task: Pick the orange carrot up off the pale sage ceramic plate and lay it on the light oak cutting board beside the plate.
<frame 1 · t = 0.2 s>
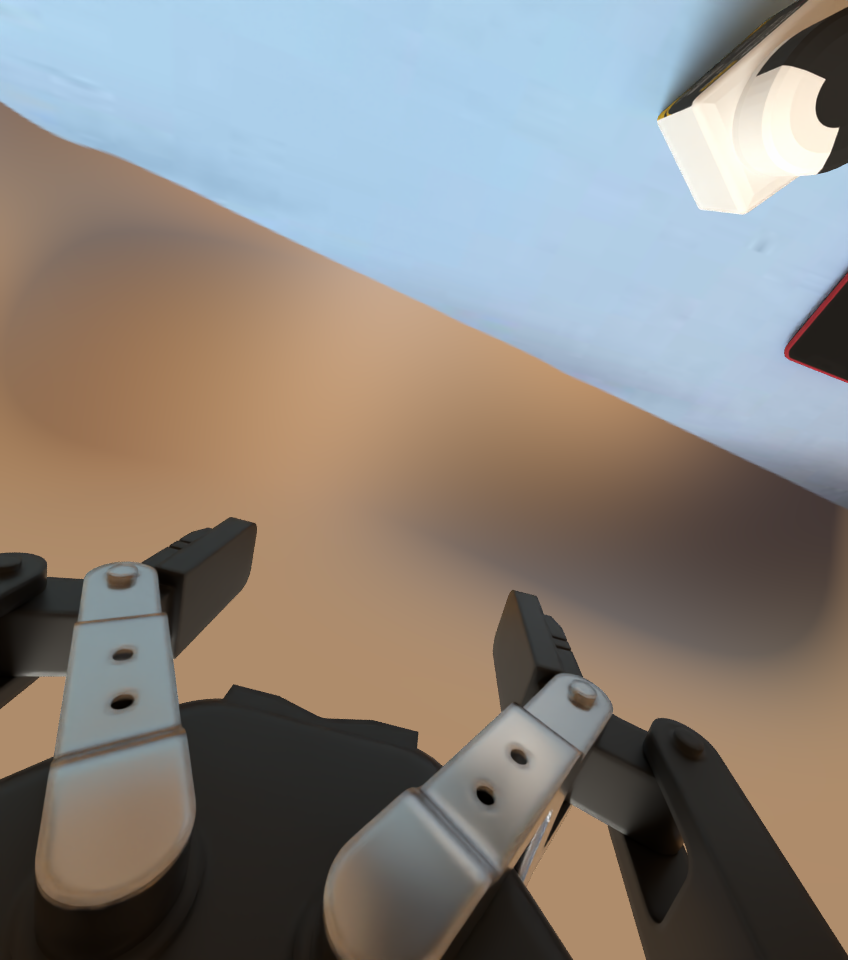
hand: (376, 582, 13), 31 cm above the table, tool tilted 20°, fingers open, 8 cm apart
medicine bottle: (729, 124, 29), on the table
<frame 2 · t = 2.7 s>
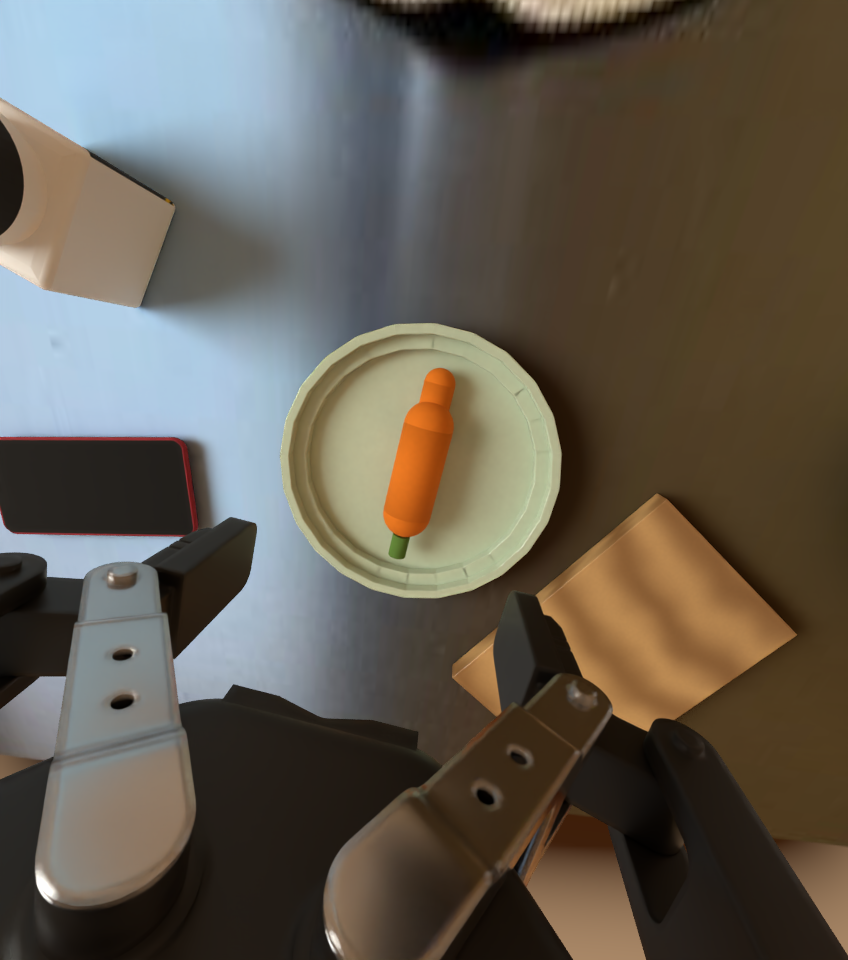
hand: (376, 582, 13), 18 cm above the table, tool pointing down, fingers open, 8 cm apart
smartphone: (101, 484, 32), on the table
medicine bottle: (112, 231, 28), on the table
plate: (420, 464, 30), on the table
cutting board: (610, 644, 33), on the table
carrot: (420, 465, 30), point 1 cm above the table, touching plate
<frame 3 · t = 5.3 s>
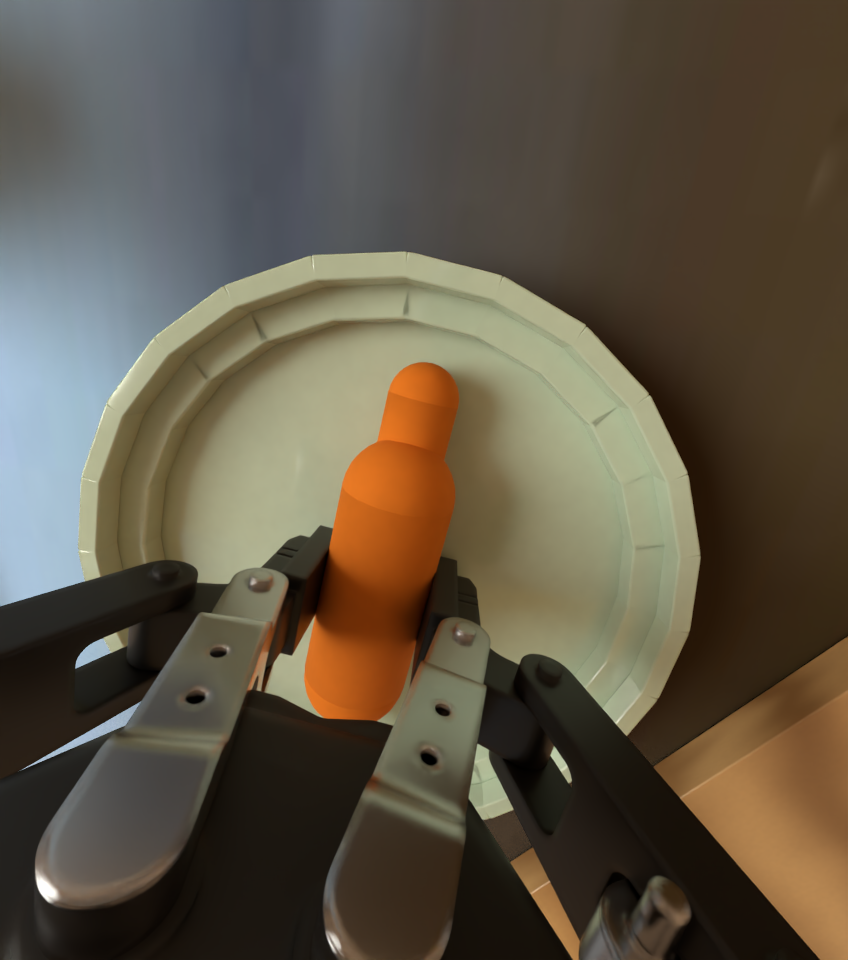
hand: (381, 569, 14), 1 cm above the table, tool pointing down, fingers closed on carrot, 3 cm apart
plate: (387, 556, 15), on the table
cutting board: (745, 881, 17), on the table
carrot: (385, 564, 14), point 1 cm above the table, touching gripper, plate
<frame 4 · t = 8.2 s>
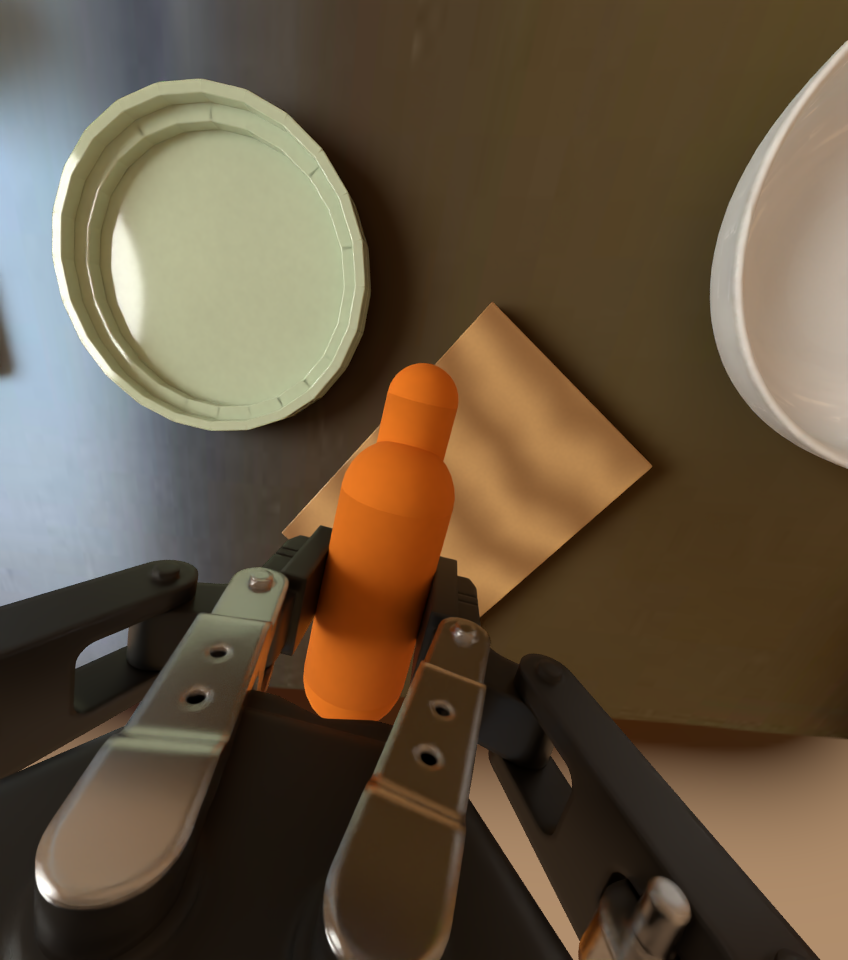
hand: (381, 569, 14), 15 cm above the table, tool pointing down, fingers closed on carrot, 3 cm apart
plate: (227, 279, 27), on the table
cutting board: (457, 494, 29), on the table
carrot: (384, 565, 14), point 15 cm above the table, touching gripper
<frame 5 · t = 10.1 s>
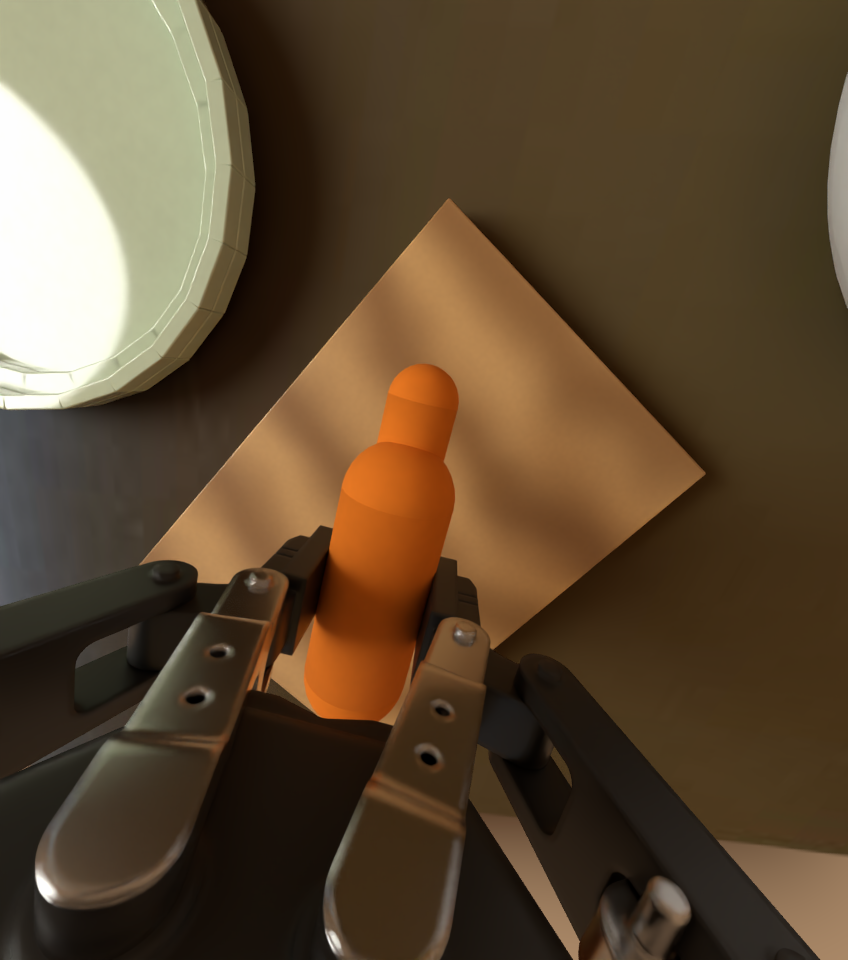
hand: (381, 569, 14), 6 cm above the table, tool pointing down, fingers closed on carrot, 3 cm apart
plate: (34, 170, 17), on the table
cutting board: (404, 513, 19), on the table
carrot: (384, 565, 14), point 5 cm above the table, touching gripper
when the fingers open (2 cm above the table, at t = 11.3 s): carrot stays where it is, resting on cutting board.
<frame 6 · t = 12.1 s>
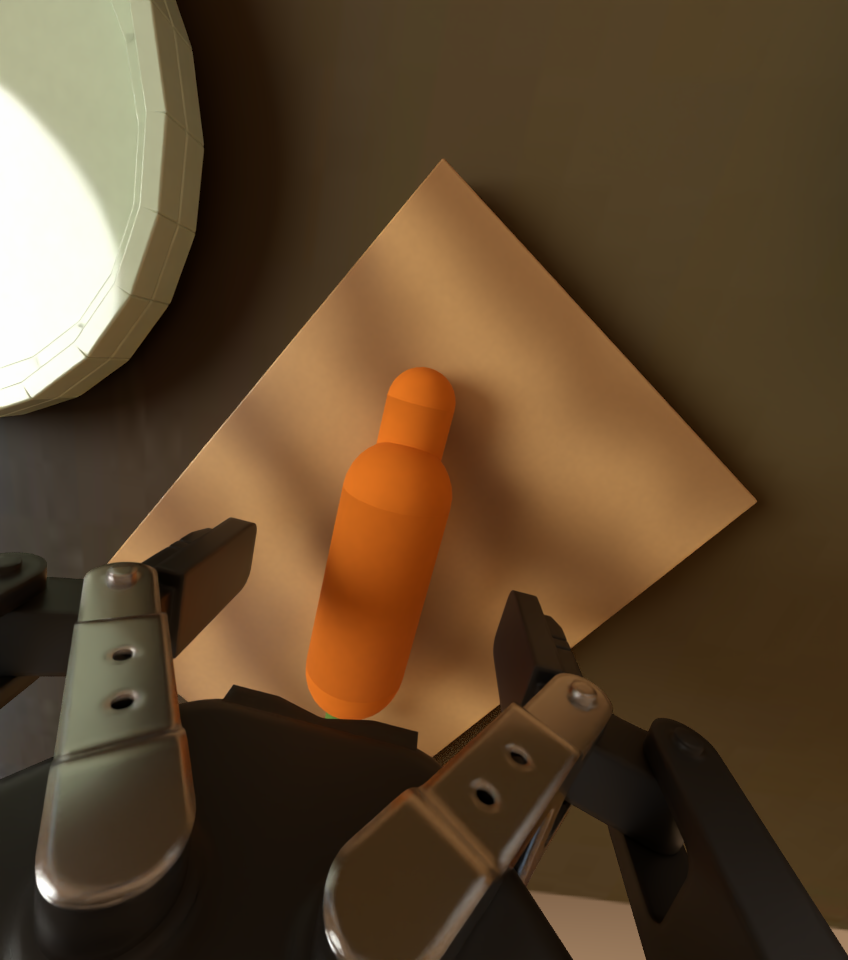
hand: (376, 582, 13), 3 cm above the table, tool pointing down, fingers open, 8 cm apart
cutting board: (390, 543, 16), on the table
carrot: (383, 562, 15), point 1 cm above the table, touching cutting board
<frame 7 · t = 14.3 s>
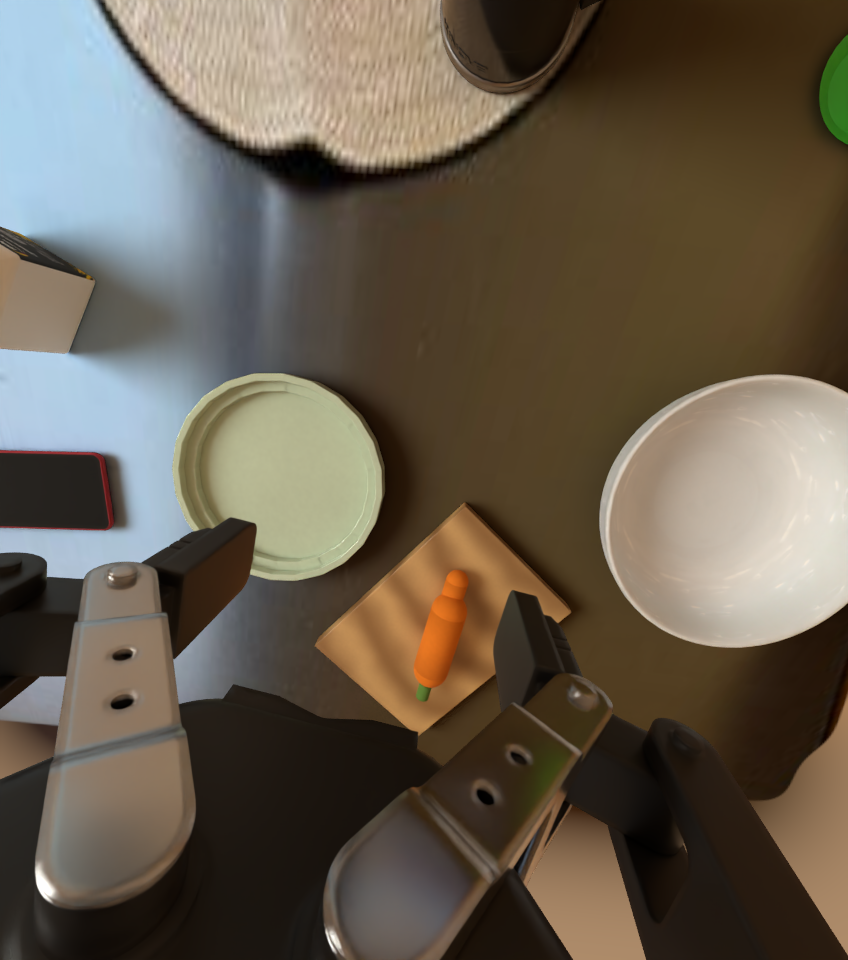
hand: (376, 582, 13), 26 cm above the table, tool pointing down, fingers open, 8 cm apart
smartphone: (37, 488, 41), on the table
medicine bottle: (48, 296, 37), on the table
plate: (286, 476, 39), on the table
cutting board: (440, 620, 42), on the table
serving bowl: (697, 496, 38), on the table
carrot: (439, 630, 40), point 2 cm above the table, touching cutting board
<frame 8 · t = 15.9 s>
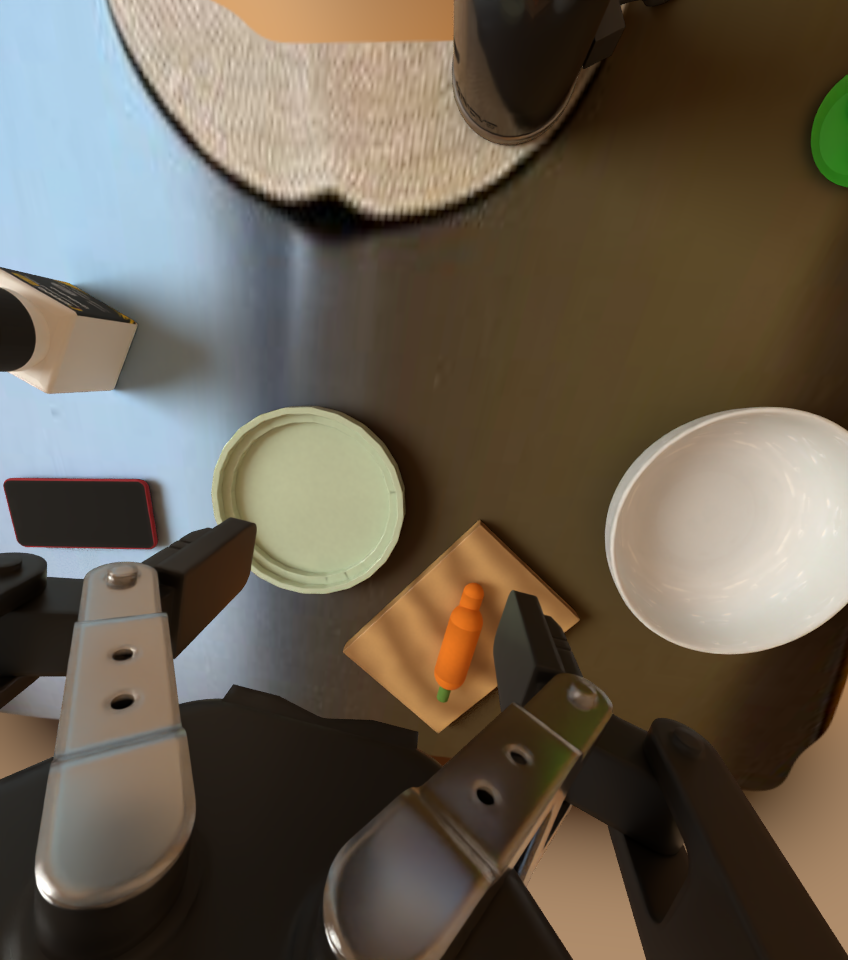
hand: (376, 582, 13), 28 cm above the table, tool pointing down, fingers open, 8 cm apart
smartphone: (88, 511, 44), on the table
medicine bottle: (94, 338, 40), on the table
plate: (314, 498, 42), on the table
cutting board: (457, 628, 45), on the table
serving bowl: (697, 512, 41), on the table
carrot: (457, 637, 43), point 2 cm above the table, touching cutting board
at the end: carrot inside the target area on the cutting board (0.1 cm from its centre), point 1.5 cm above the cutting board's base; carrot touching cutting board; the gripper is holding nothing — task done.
